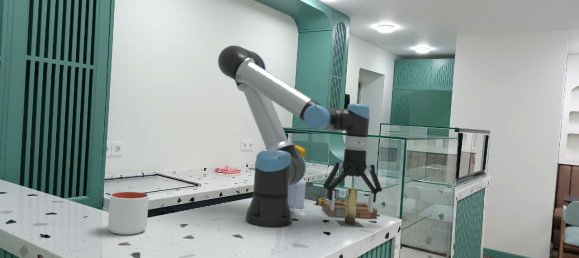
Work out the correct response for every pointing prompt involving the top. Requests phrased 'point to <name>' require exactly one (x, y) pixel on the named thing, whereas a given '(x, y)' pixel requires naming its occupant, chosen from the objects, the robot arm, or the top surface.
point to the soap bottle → (297, 188)
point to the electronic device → (320, 200)
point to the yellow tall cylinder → (350, 206)
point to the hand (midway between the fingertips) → (350, 210)
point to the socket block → (340, 210)
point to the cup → (128, 212)
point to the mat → (349, 225)
